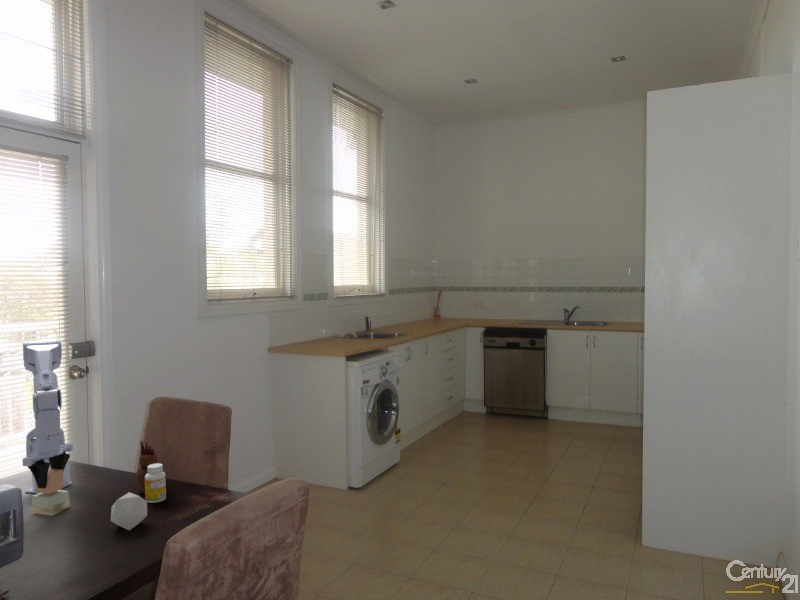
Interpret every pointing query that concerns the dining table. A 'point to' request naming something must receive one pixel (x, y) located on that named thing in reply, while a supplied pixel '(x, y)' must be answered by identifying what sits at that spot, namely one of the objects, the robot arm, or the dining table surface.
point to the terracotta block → (52, 481)
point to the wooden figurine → (144, 465)
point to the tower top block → (50, 498)
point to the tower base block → (51, 508)
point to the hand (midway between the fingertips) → (49, 484)
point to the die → (129, 511)
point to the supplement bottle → (155, 483)
